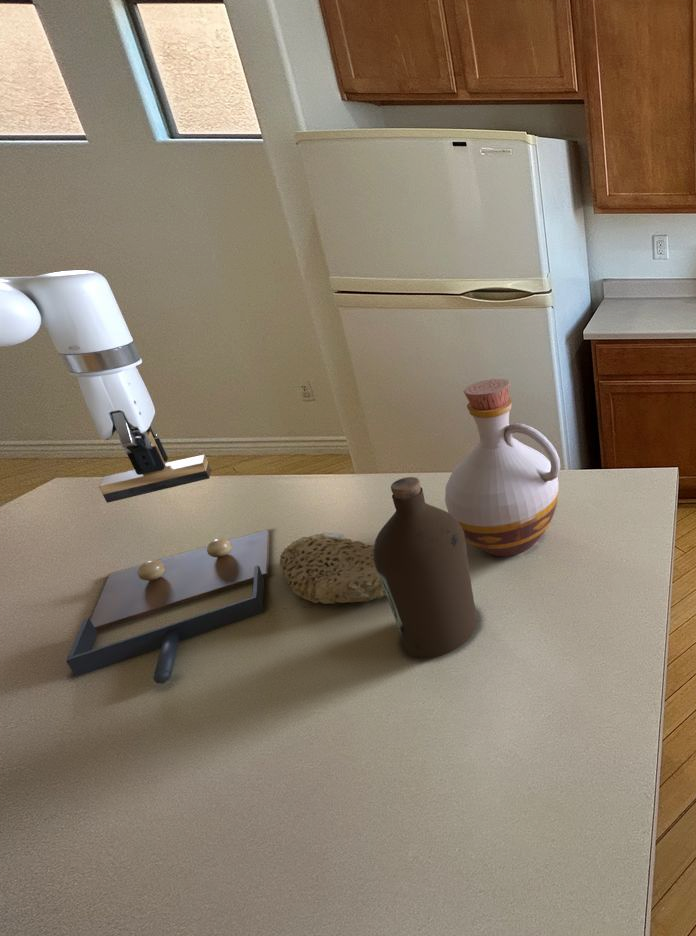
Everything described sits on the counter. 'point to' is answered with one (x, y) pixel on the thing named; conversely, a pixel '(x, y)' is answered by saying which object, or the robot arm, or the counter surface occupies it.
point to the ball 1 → (151, 570)
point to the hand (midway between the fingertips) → (153, 466)
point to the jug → (502, 478)
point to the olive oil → (425, 573)
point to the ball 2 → (219, 548)
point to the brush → (155, 477)
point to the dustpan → (160, 636)
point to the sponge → (331, 569)
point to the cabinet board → (180, 580)
